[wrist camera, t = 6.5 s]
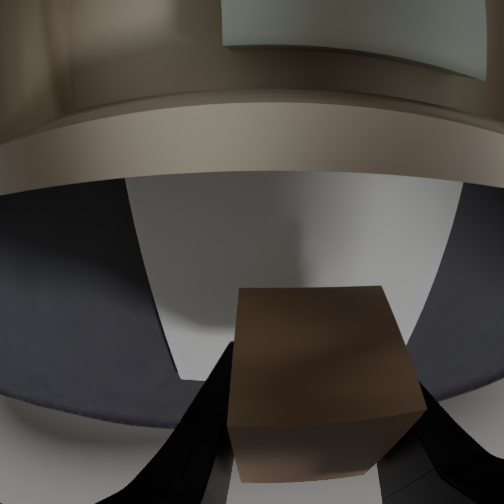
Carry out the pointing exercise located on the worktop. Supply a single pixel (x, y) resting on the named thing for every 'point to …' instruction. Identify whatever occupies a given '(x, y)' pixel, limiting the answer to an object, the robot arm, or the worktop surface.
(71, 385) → the worktop surface
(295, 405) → the walnut block
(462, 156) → the slot box
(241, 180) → the grey mat
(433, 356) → the worktop surface
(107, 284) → the worktop surface
